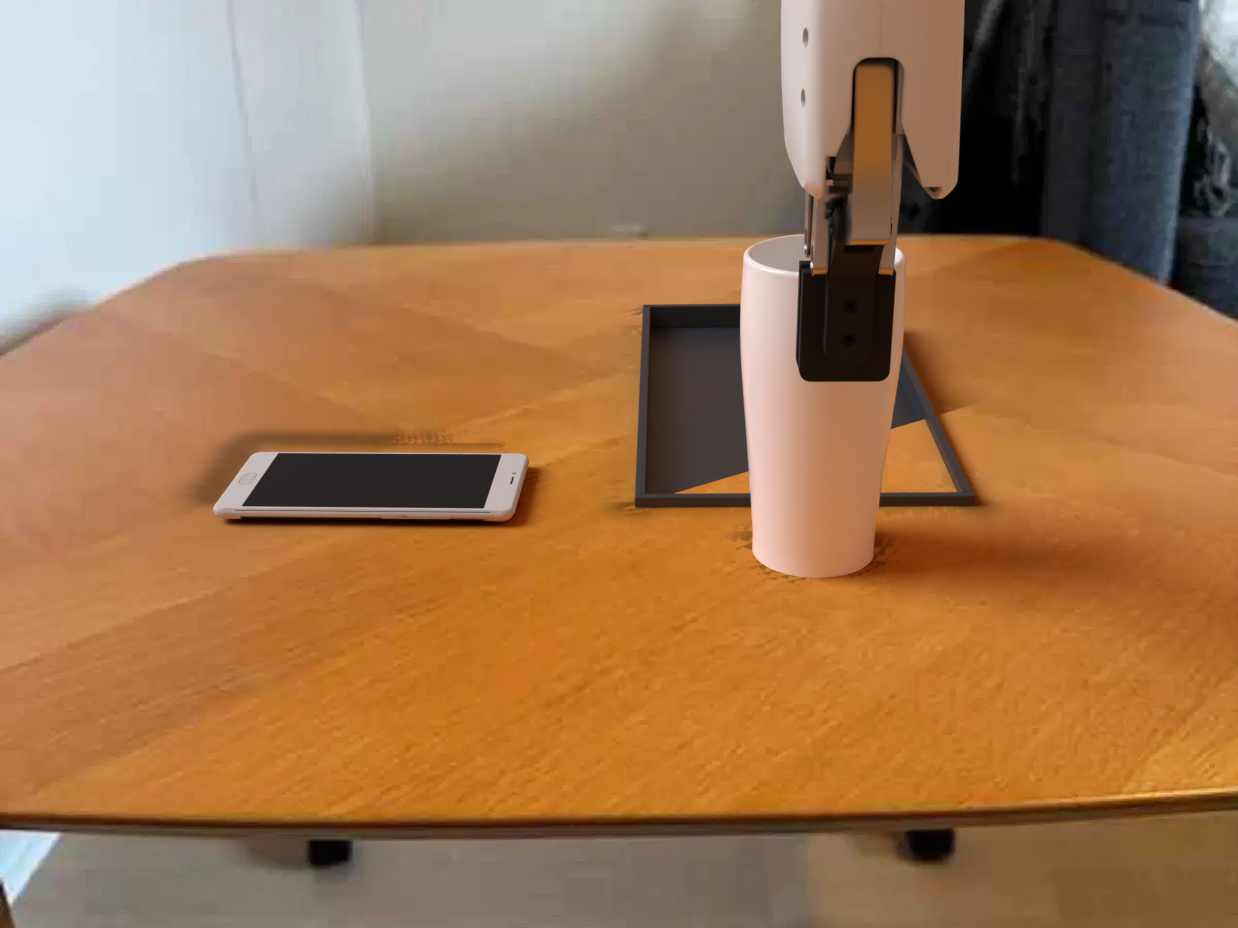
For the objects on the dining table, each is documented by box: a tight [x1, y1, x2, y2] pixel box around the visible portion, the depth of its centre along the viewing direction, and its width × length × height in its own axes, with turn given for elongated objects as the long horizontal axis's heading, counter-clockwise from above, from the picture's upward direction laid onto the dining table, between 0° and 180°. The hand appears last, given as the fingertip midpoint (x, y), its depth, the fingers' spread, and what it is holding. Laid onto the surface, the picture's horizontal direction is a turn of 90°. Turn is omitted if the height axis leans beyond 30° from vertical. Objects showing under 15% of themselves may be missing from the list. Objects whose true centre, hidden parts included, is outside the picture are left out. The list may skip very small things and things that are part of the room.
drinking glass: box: [740, 233, 907, 579], centre depth 63 cm, size 7×7×15 cm
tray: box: [634, 303, 975, 509], centre depth 84 cm, size 31×16×2 cm, turn 178°
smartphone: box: [212, 451, 530, 522], centre depth 75 cm, size 8×1×15 cm
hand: (841, 373), depth 53 cm, fingers closed
